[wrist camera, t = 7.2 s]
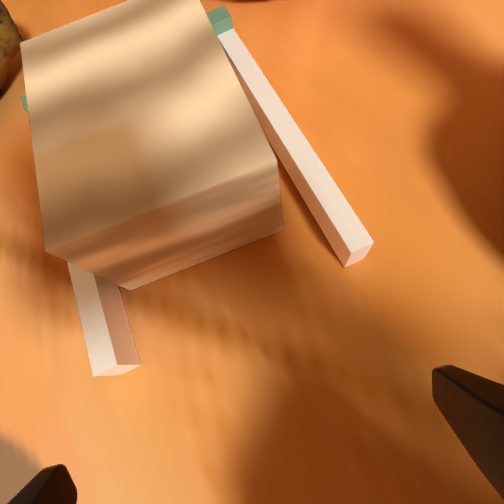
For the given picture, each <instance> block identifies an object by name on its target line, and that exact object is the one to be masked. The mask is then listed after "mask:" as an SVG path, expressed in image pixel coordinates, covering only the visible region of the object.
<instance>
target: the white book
mask: <svg viewBox="0 0 504 504" xmlns="http://www.w3.org/2000/svg"><path fill="white" fill-rule="evenodd" d="M206 15H207V17H208V19H209V21H210V23H211V25H212V27H213V29H214V31H215V33H216V35H217V37H218V39H219V41H220V43H221V45H222V48H223V50H224V52H225V54H226V56H227V58H228V60H229V62H230V64H231V66H232V68H233V70H234V72H235V74H236V76H237V78H238V81H239V83H240V85H241V87H242V89H243V91H244V93H245V95H246V97H247V99H248V101H249V103H250V105H251V107H252V109H253V112H254V114H255V116H256V118H257V120H258V122H259V124H260V126H261V128H262V130H263V132H264V134H265V136H266V138H267V139H268V141H269V143H270V144H271V146H272V148H273V149H274V151H275V153H276V154H277V156H278V158H279V159H280V161H281V163H282V164H283V166H284V168H285V169H286V171H287V173H288V174H289V176H290V178H291V179H292V181H293V183H294V185H295V186H296V188H297V190H298V191H299V193H300V195H301V196H302V198H303V200H304V201H305V203H306V205H307V206H308V208H309V210H310V211H311V213H312V215H313V216H314V218H315V220H316V221H317V223H318V225H319V226H320V228H321V230H322V231H323V233H324V235H325V236H326V238H327V240H328V242H329V243H330V245H331V247H332V248H333V250H334V252H335V253H336V255H337V257H338V258H339V260H340V262H341V263H342V265H343V267H344V268H345V267H348V266H350V265H352V264H354V263H356V262H358V261H360V260H362V259H364V258H365V256H366V255H367V253H368V252H369V250H370V248H371V247H372V245H373V243H374V241H373V240H372V238H371V237H370V235H369V234H368V232H367V231H366V229H365V228H364V226H363V225H362V223H361V222H360V220H359V218H358V217H357V215H356V214H355V212H354V211H353V209H352V208H351V206H350V205H349V203H348V202H347V200H346V199H345V197H344V196H343V194H342V193H341V191H340V190H339V188H338V187H337V185H336V184H335V182H334V181H333V179H332V177H331V176H330V174H329V173H328V171H327V170H326V168H325V167H324V165H323V164H322V162H321V161H320V159H319V158H318V156H317V155H316V153H315V152H314V150H313V149H312V147H311V146H310V144H309V143H308V141H307V139H306V138H305V136H304V135H303V133H302V132H301V130H300V129H299V127H298V126H297V124H296V123H295V121H294V120H293V118H292V117H291V115H290V114H289V112H288V111H287V109H286V108H285V106H284V105H283V103H282V102H281V100H280V98H279V97H278V95H277V94H276V92H275V91H274V89H273V88H272V86H271V85H270V83H269V82H268V80H267V79H266V77H265V76H264V74H263V73H262V71H261V70H260V68H259V67H258V65H257V64H256V62H255V61H254V59H253V57H252V56H251V54H250V53H249V51H248V50H247V48H246V47H245V45H244V44H243V42H242V41H241V39H240V38H239V36H238V35H237V33H236V32H235V30H234V29H233V24H232V19H231V15H230V14H229V12H228V11H227V9H226V8H225V6H222V7H219V8H217V9H215V10H213V11H210V12H208V13H206ZM21 97H22V102H23V106H24V110H26V111H27V112H28V105H27V97H26V95H24V96H21ZM67 264H68V268H69V273H70V277H71V281H72V286H73V290H74V294H75V299H76V303H77V307H78V312H79V316H80V320H81V325H82V329H83V333H84V338H85V342H86V346H87V351H88V355H89V359H90V364H91V368H92V372H93V376H107V375H121V374H123V373H126V372H128V371H130V370H132V369H134V368H136V367H138V366H140V365H141V363H140V359H139V356H138V352H137V349H136V345H135V342H134V339H133V335H132V332H131V328H130V325H129V321H128V318H127V314H126V311H125V307H124V304H123V301H122V297H121V294H120V290H119V287H118V285H117V284H114V283H112V282H110V281H108V280H106V279H103V278H101V277H99V276H97V275H95V274H93V273H90V272H88V271H86V270H84V269H82V268H80V267H77V266H75V265H73V264H71V263H69V262H67Z"/></svg>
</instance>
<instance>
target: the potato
mask: <svg viewBox="0 0 504 504" xmlns="http://www.w3.org/2000/svg"><path fill="white" fill-rule="evenodd" d="M23 41H25V39H22V37H21V35H20V34H19V32H18V29H17V26H16V25H15V23H14V22H13V20H12V18H11V16H10V14H9V12H8V10H7V8H6V7H5V5H4V4H3V3H2V2H1V0H0V89H1V87H2V85H3V83H4V80H5V77H6V74H7V71H8V69H9V66H10V64H11V62H12V60H13V58H14V57H15V55H16V53H17V52H18V50H19V49H21V48H20V43H21V42H23Z"/></svg>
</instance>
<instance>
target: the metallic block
mask: <svg viewBox="0 0 504 504" xmlns="http://www.w3.org/2000/svg"><path fill="white" fill-rule="evenodd" d="M20 48H21V56H22V64H23V72H24V80H25V89H26V97H27V105H28V113H29V122H30V130H31V138H32V146H33V154H34V163H35V171H36V179H37V187H38V196H39V204H40V212H41V220H42V229H43V237H44V245H45V252H47V253H49V254H51V255H54V256H56V257H58V258H60V259H62V260H64V261H67V262H69V263H71V264H73V265H75V266H77V267H80V268H82V269H84V270H86V271H88V272H90V273H93V274H95V275H97V276H99V277H101V278H103V279H106V280H108V281H110V282H112V283H114V284H117V285H119V286H121V287H123V288H125V289H127V290H133V289H135V288H138V287H140V286H143V285H145V284H148V283H150V282H153V281H155V280H158V279H161V278H163V277H166V276H168V275H171V274H173V273H176V272H178V271H181V270H183V269H186V268H188V267H191V266H194V265H196V264H199V263H201V262H204V261H206V260H209V259H211V258H214V257H216V256H219V255H221V254H224V253H227V252H229V251H232V250H234V249H237V248H239V247H242V246H244V245H247V244H249V243H252V242H255V241H257V240H260V239H262V238H265V237H267V236H270V235H272V234H275V233H277V232H280V231H282V230H284V224H283V214H282V204H281V194H280V183H279V173H278V163H277V159H276V157H275V155H274V153H273V151H272V149H271V147H270V145H269V142H268V140H267V138H266V136H265V134H264V132H263V130H262V128H261V126H260V124H259V122H258V120H257V118H256V116H255V114H254V112H253V109H252V107H251V105H250V103H249V101H248V99H247V97H246V95H245V93H244V91H243V89H242V87H241V85H240V83H239V81H238V78H237V76H236V74H235V72H234V70H233V68H232V66H231V64H230V62H229V60H228V58H227V56H226V54H225V52H224V50H223V48H222V45H221V43H220V41H219V39H218V37H217V35H216V33H215V31H214V29H213V27H212V25H211V23H210V21H209V19H208V17H207V15H206V12H205V10H204V8H203V6H202V4H201V2H200V0H128V1H125V2H123V3H120V4H117V5H115V6H112V7H110V8H107V9H105V10H102V11H100V12H97V13H95V14H92V15H89V16H87V17H84V18H82V19H79V20H77V21H74V22H72V23H69V24H67V25H64V26H62V27H59V28H56V29H54V30H51V31H49V32H46V33H44V34H41V35H39V36H36V37H34V38H31V39H28V40H26V41H23V42H21V43H20Z"/></svg>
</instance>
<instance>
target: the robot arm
mask: <svg viewBox="0 0 504 504" xmlns="http://www.w3.org/2000/svg"><path fill="white" fill-rule="evenodd" d="M432 394H433V399H434V401H435V403H436V405H437V407H438V408H439V410H440V411H441V413H442V414H443V416H444V417H445V419H446V420H447V422H448V423H449V425H450V426H451V428H452V429H453V431H454V432H455V434H456V435H457V437H458V438H459V440H460V441H461V443H462V444H463V446H464V447H465V449H466V450H467V452H468V453H469V455H470V456H471V458H472V459H473V460H474V462H475V463H476V465H477V466H478V468H479V469H480V470H481V471H482V473H483V474H484V475H485V477H486V478H487V479H488V481H489V482H490V483H491V484H492V485H493V487H494V488H495V489H496V490H497V492H498V493H499V494H500V495H501V497H502V498H503V499H504V385H502V384H499V383H497V382H494V381H491V380H489V379H486V378H484V377H481V376H479V375H476V374H473V373H471V372H468V371H466V370H463V369H460V368H458V367H455V366H452V365H444V366H440V367H436V368H434V369H433V371H432ZM76 503H77V489H76V486H75V484H74V482H73V480H72V478H71V476H70V474H69V472H68V470H67V468H66V466H64V465H63V464H58V465H54V466H50V467H47V468H44V469H43V470H41V471H40V472H39V473H38V474H37V475H36V476H35V477H34V478H33V479H32V480H31V481H30V482H29V483H28V484H27V485H26V486H25V487H24V488H23V489H22V490H21V491H20V492H19V493H18V494H17V495H16V496H15V497H14V498H13V499H12V500H11V501H10V502H9V503H8V504H76Z"/></svg>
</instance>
